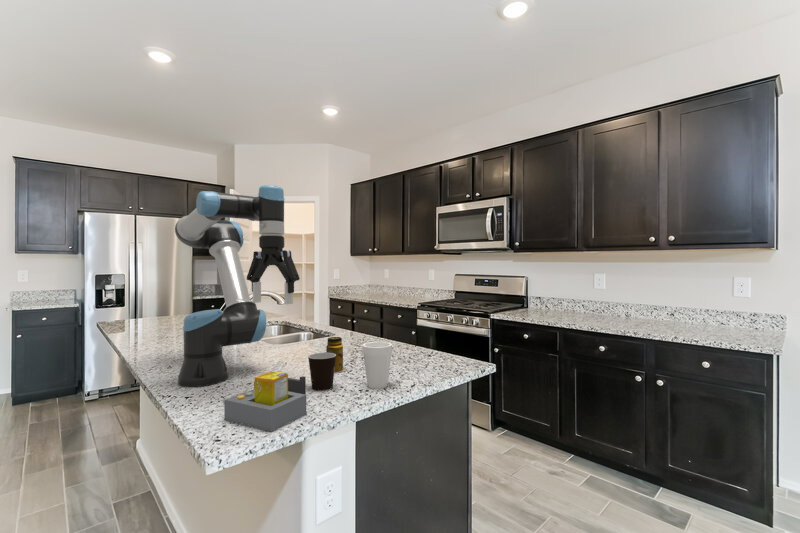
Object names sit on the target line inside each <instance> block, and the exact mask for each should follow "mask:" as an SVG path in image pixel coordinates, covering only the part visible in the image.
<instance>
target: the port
mask: <svg viewBox="0 0 800 533" xmlns="http://www.w3.org/2000/svg"><path fill="white" fill-rule="evenodd" d="M223 402H224V403H223V404H224V405H223V406H224V408H223V409H224V410H223V411H224V414H223V416H224V421H228V422H233V423H235V424H240V425H244V426H248V427H252V428H255V429H259V430H263V431H265V432H266V431H267V432H275V430H278V429H279V428H282V427H283V426H285V425H288V424H290V423H292V422H294V421H295V420H297V419H299V418H302V417H303V416H306V415H307V412H308V411H307V394H300V393H294V392H289V391H288V399H287V400H284V401H282V402H280V403H277V404H275V405H272V406H269V405H265V404H260V403H255V389H254V388H253V389H250V390H248V391H244V392H243V393H239V394H236V395H234V396H231V397H228V398H225V399H224V401H223Z"/></svg>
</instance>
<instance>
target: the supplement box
mask: <svg viewBox="0 0 800 533" xmlns="http://www.w3.org/2000/svg"><path fill="white" fill-rule="evenodd" d="M288 378H289V373H288V372H280V371H271V370H270V371H267V372H264V373H262V374H260V375H257V376H254V379H253V380H254V381H255V403H260V404H265V405H269V406H272V405H275V404H277V403H280V402H282V401H284V400H287V399H288Z"/></svg>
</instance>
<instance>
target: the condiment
mask: <svg viewBox="0 0 800 533" xmlns="http://www.w3.org/2000/svg"><path fill="white" fill-rule="evenodd" d="M342 340H343V338H342V337H341V336H330V337H328V338H327V339H326V342H327V345H326V352H325V353H334V354H336V360H335V370H334V374H335V373H337V374H338V373H342V372H346V371H348V369H346V368H344V346H343V343H342V342H343V341H342Z"/></svg>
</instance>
